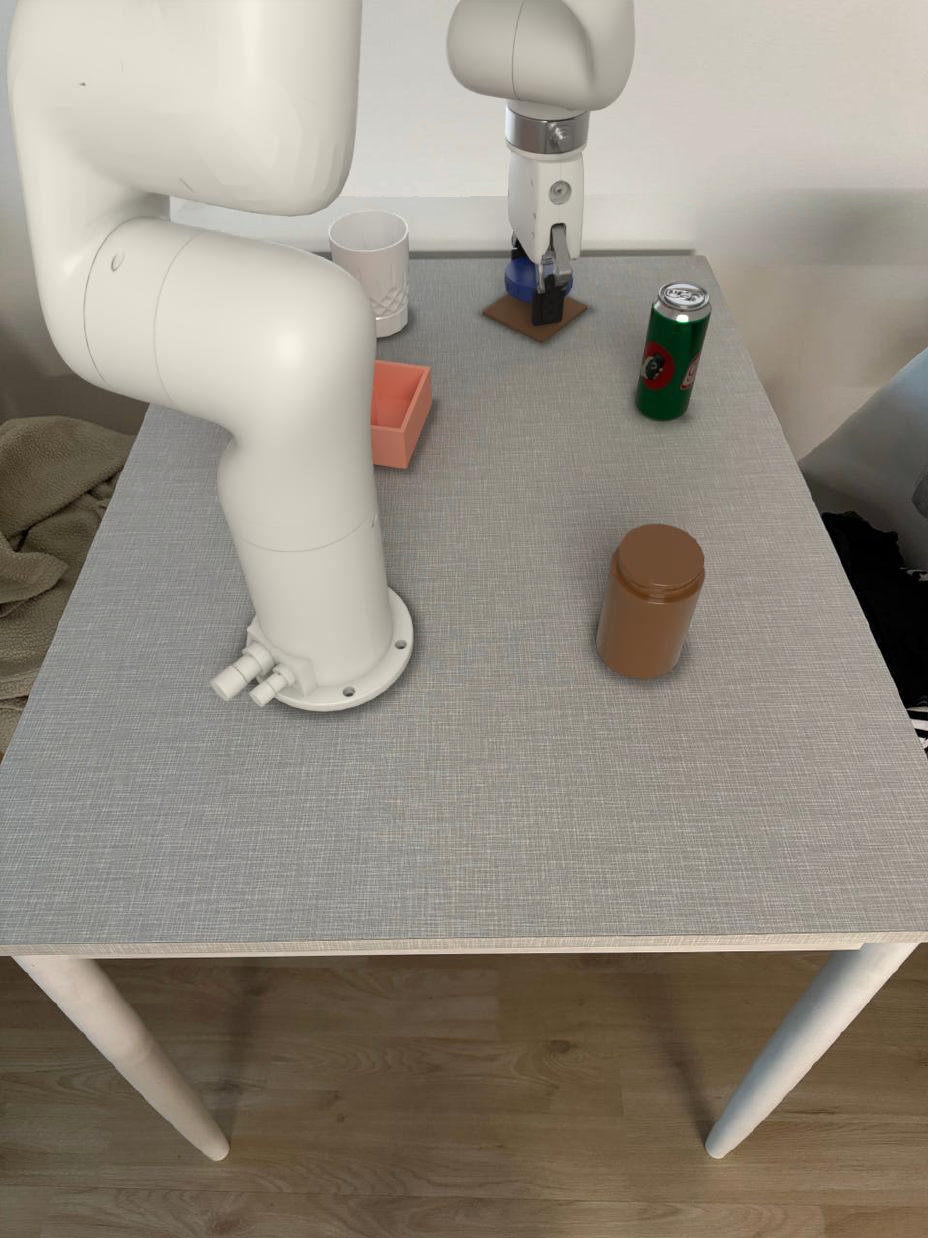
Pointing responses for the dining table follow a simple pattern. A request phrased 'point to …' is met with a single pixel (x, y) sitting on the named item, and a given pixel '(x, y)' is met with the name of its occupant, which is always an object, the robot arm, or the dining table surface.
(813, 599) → the dining table surface
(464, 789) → the dining table surface
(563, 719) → the dining table surface
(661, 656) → the jar
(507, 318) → the pad
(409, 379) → the salmon pink open box
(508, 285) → the lid
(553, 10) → the robot arm
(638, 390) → the soda can
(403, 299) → the white cup
